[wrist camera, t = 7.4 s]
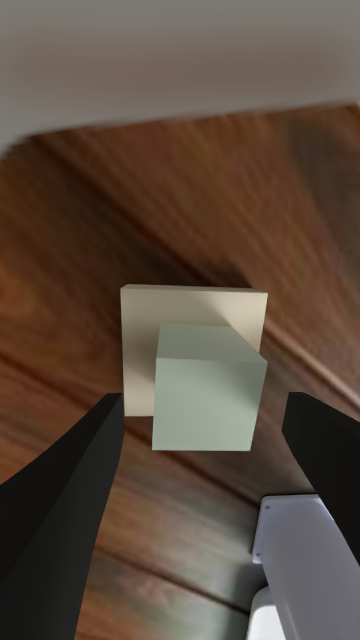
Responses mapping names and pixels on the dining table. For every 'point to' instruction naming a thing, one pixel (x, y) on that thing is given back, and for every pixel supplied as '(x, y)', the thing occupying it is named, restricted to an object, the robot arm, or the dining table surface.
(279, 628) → the salad plate
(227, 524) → the dining table surface
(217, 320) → the birch base
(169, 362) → the sage block
